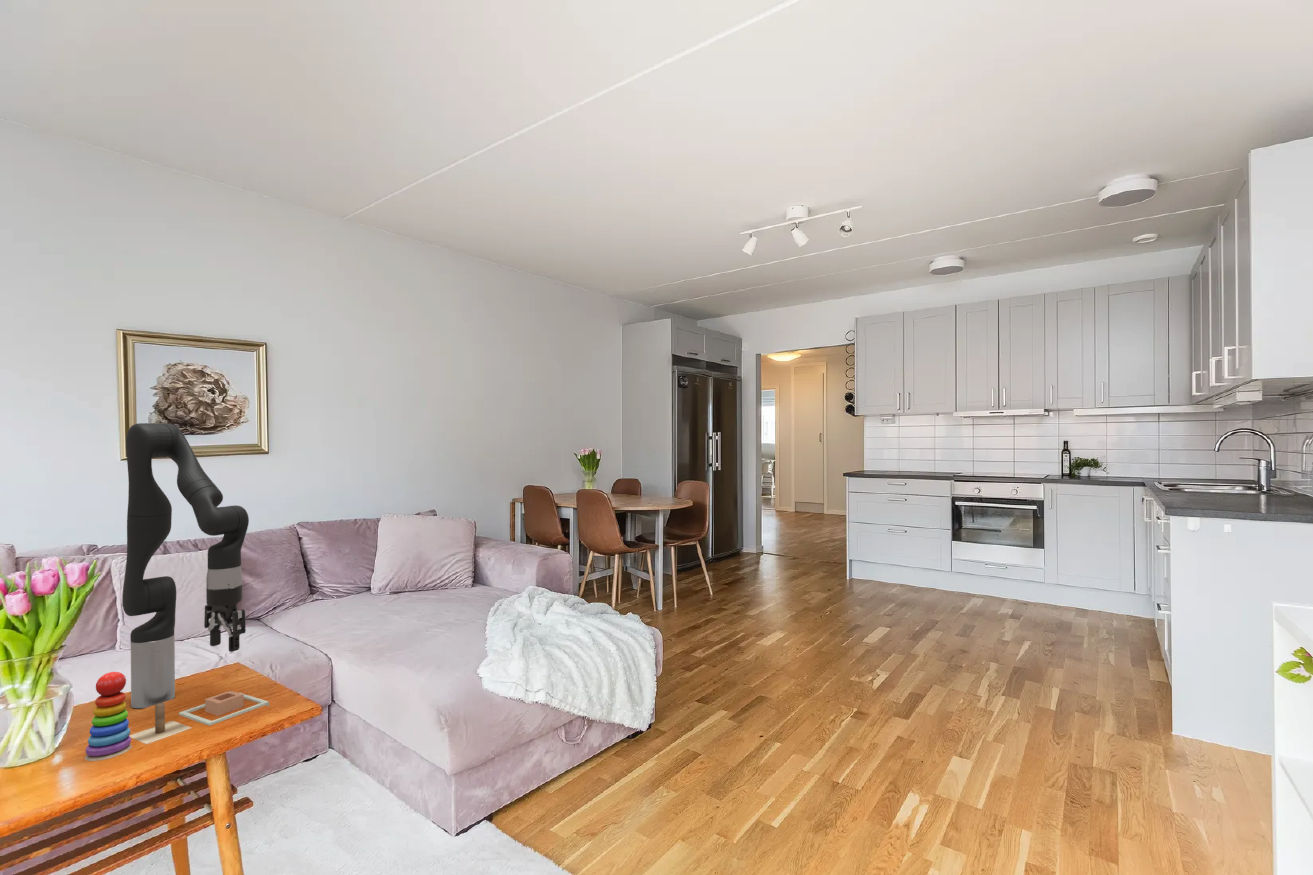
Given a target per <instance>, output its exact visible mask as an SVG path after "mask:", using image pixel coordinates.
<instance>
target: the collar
mask: <svg viewBox="0 0 1313 875" xmlns="http://www.w3.org/2000/svg"><path fill="white" fill-rule="evenodd" d="M240 693H241V692H239V693H238V692H237V691H233V690H228V691H225V692H223V693H222V692H221V693H220V694H216V695H214V696H210V697H207V698H205V699H204V704H205V708H204V711H205V712H206V713H208V714H211V715H214V716H217V717H220V716H222V715H224V714H227V713H230V712H231V713H232V712H233V711H237V710H239V709H241V708H244V707H245V701H244V700H245V699H244V694H245V693H242V694H240Z"/></svg>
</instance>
